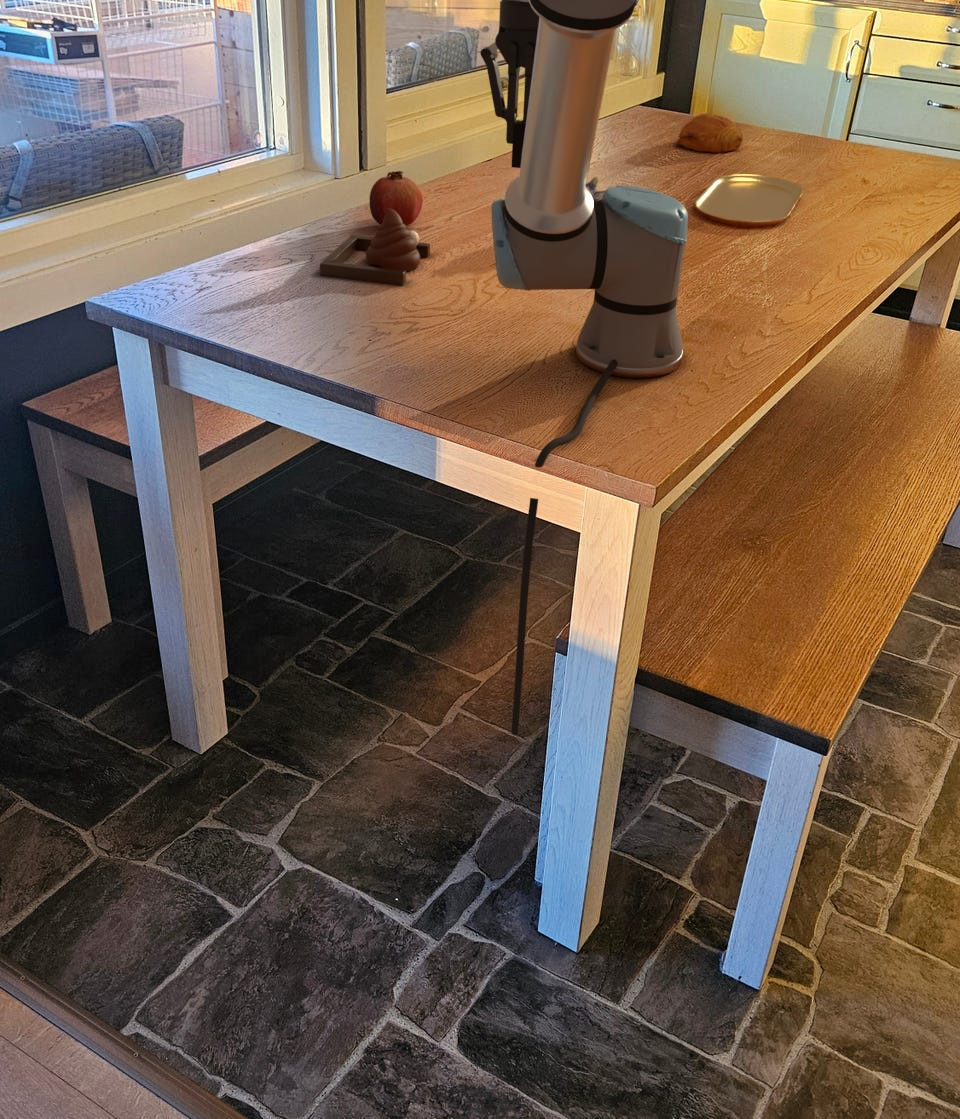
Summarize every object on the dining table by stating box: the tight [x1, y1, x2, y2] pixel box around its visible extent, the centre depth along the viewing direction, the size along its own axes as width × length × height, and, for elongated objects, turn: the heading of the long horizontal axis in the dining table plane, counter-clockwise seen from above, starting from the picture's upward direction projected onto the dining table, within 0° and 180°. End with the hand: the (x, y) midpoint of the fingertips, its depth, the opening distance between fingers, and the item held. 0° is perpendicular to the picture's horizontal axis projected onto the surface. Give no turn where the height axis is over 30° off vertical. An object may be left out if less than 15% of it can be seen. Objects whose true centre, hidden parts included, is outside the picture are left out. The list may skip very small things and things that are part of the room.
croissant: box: [677, 112, 743, 154], centre depth 261 cm, size 14×16×8 cm
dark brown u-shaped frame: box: [319, 234, 431, 286], centre depth 186 cm, size 16×14×2 cm
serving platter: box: [694, 173, 804, 228], centre depth 223 cm, size 19×35×2 cm, turn 157°
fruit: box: [369, 170, 424, 227], centre depth 201 cm, size 11×10×10 cm
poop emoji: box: [365, 208, 421, 272], centre depth 184 cm, size 10×8×9 cm
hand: (517, 165), depth 171 cm, fingers closed
